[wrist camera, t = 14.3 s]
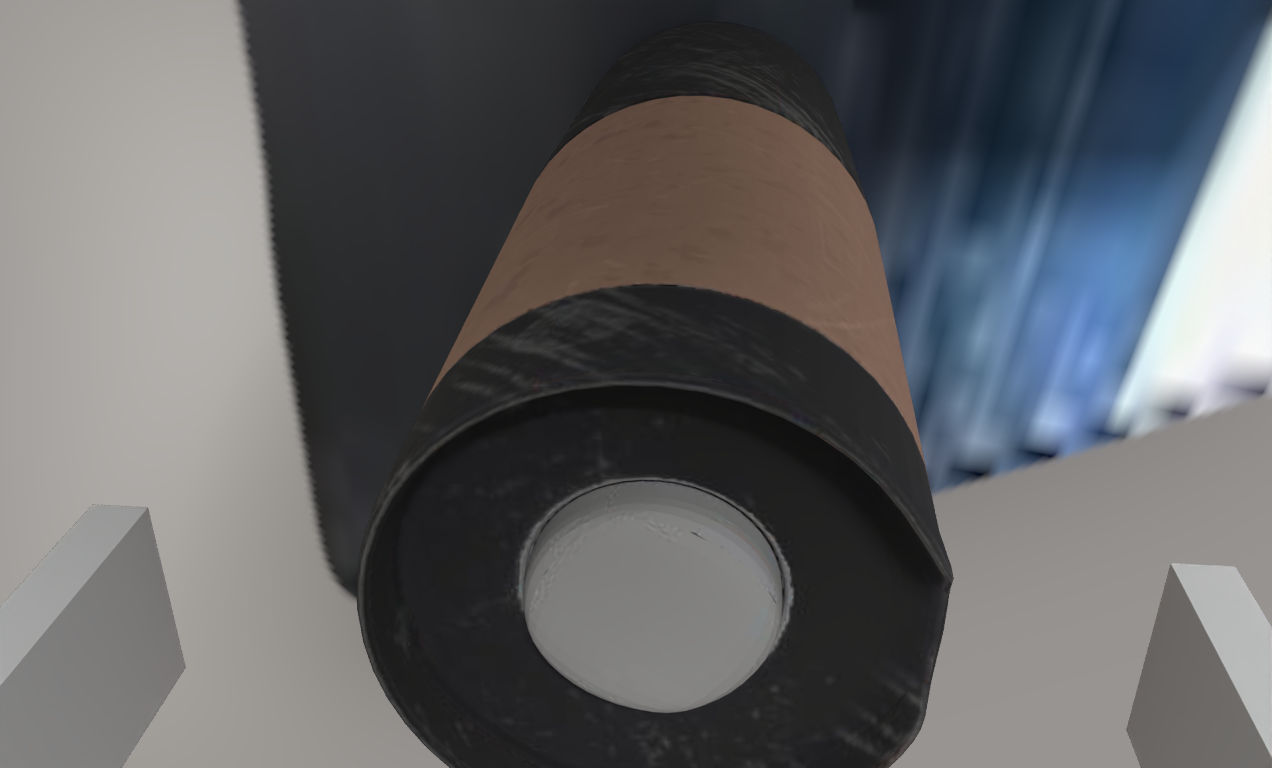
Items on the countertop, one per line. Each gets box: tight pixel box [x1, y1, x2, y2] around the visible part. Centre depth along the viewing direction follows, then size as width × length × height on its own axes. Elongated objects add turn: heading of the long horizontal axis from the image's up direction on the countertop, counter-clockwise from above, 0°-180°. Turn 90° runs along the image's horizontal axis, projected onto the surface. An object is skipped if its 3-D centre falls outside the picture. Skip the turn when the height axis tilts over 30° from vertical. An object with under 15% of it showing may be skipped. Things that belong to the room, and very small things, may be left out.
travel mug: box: [357, 22, 954, 768], centre depth 23 cm, size 8×8×20 cm
